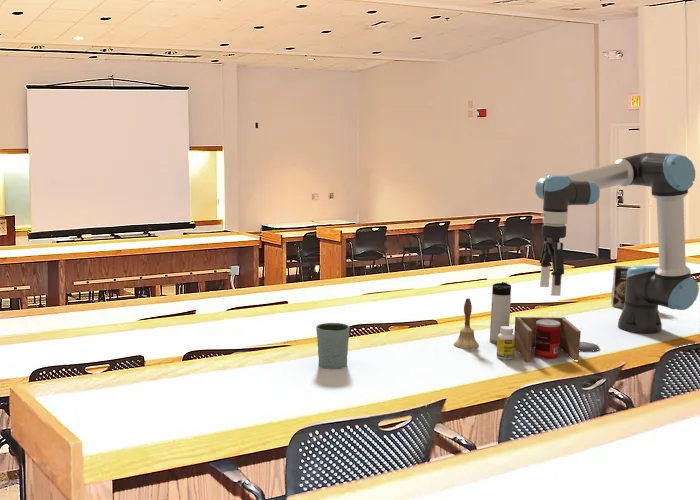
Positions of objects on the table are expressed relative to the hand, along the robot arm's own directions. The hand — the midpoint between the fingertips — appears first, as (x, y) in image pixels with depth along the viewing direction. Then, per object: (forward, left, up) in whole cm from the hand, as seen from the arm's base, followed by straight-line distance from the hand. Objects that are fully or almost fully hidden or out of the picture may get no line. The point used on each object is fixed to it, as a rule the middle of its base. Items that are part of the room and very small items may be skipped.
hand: (549, 291), depth 276 cm
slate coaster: (-15, -10, -21) cm, 28 cm away
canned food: (0, 0, -21) cm, 21 cm away
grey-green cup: (+69, +13, -21) cm, 73 cm away
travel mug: (+12, -16, -21) cm, 29 cm away
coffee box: (-51, -74, -21) cm, 92 cm away
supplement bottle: (+14, +3, -21) cm, 26 cm away
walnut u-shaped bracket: (0, -1, -21) cm, 21 cm away
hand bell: (+24, -11, -21) cm, 34 cm away
